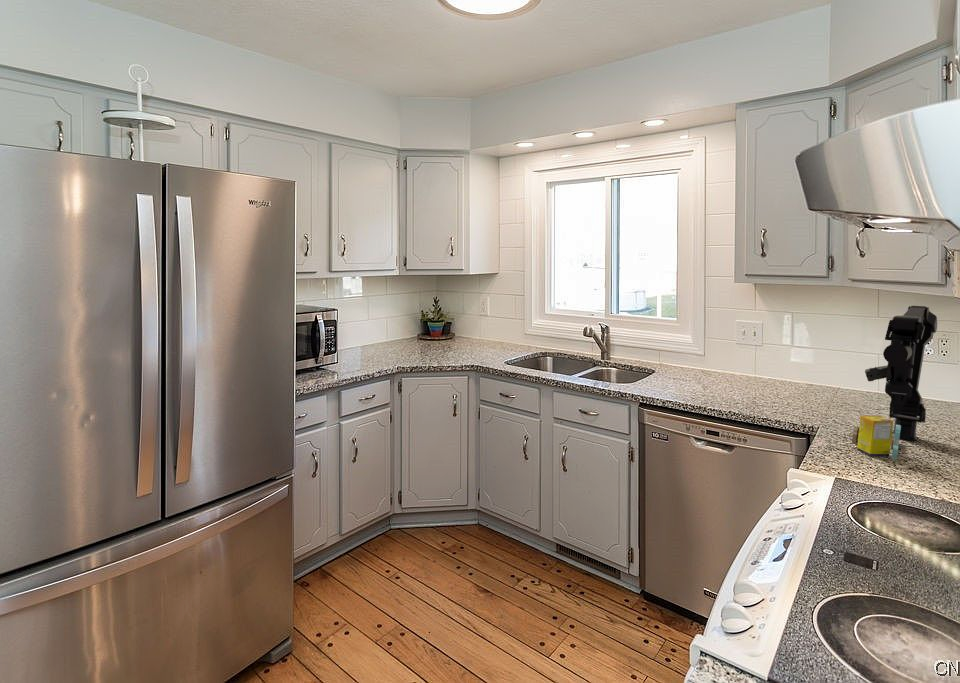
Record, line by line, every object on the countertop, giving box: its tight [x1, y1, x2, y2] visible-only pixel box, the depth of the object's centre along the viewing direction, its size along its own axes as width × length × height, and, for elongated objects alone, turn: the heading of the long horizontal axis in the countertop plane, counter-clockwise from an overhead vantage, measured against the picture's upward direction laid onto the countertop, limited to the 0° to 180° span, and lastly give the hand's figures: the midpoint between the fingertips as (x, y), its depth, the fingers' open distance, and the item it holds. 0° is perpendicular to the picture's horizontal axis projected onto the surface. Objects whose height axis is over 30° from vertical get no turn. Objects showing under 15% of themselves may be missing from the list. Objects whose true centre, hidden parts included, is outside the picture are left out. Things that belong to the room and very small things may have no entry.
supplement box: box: [856, 414, 894, 457], centre depth 168 cm, size 6×6×11 cm
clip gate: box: [891, 425, 901, 461], centre depth 165 cm, size 1×10×8 cm, turn 143°
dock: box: [851, 426, 895, 451], centre depth 178 cm, size 10×11×3 cm
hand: (895, 410), depth 169 cm, fingers open, 9 cm apart
